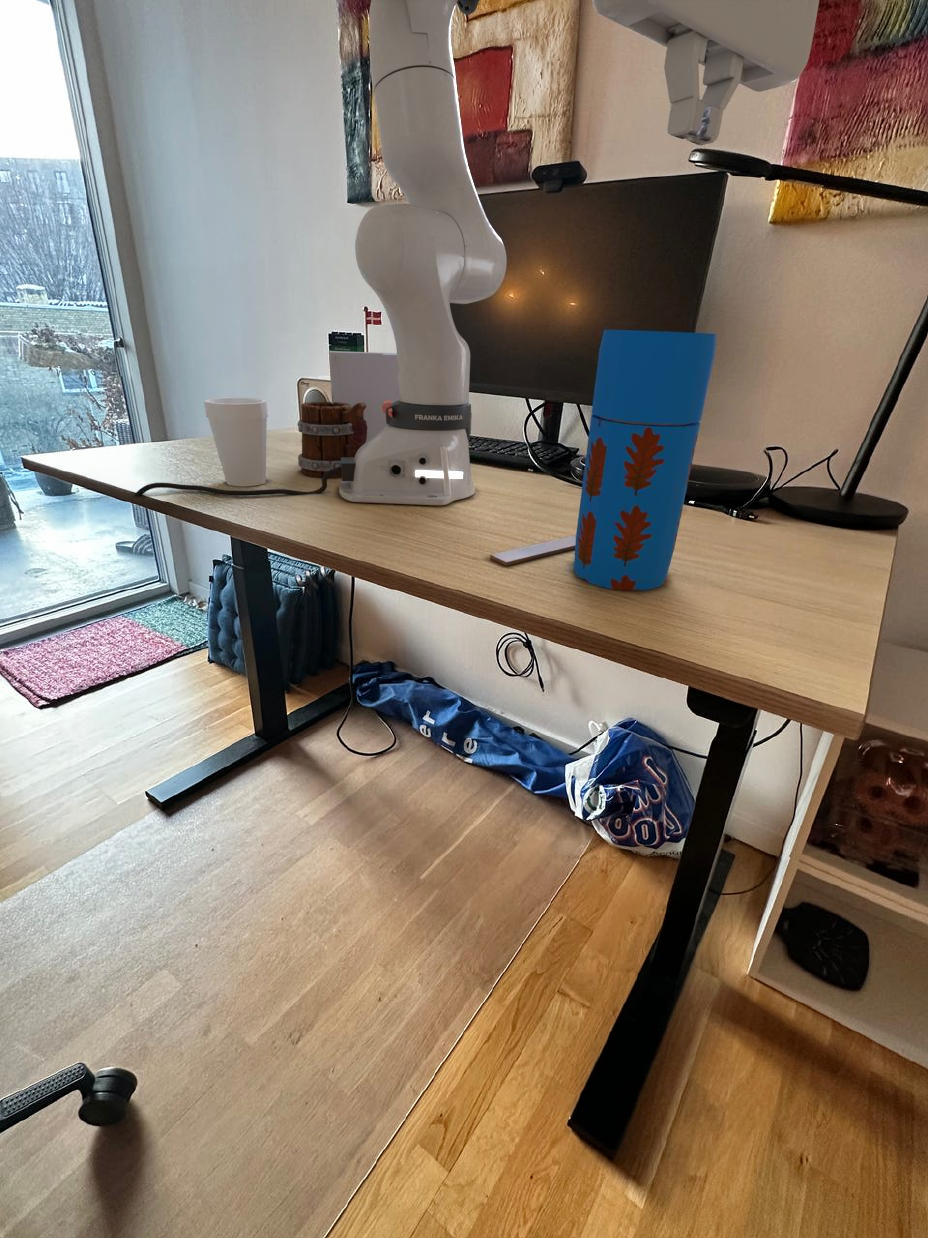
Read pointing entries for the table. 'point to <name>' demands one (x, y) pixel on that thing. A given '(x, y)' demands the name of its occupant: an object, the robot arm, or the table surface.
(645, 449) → the thermos
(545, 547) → the ruler
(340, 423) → the mug
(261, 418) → the foam cup
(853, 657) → the table surface
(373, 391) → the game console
